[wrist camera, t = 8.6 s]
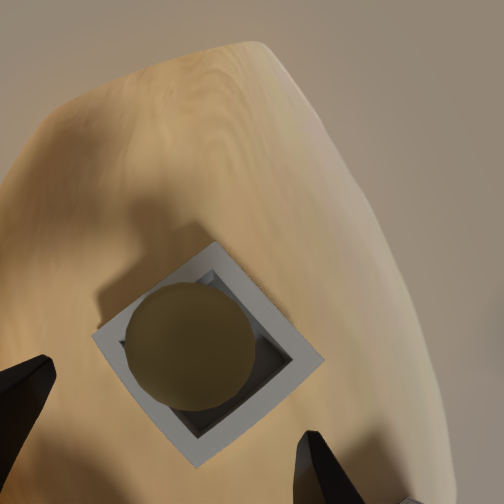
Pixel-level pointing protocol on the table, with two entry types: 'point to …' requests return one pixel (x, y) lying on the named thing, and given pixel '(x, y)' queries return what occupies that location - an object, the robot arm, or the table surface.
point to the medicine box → (410, 501)
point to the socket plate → (262, 374)
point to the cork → (190, 346)
